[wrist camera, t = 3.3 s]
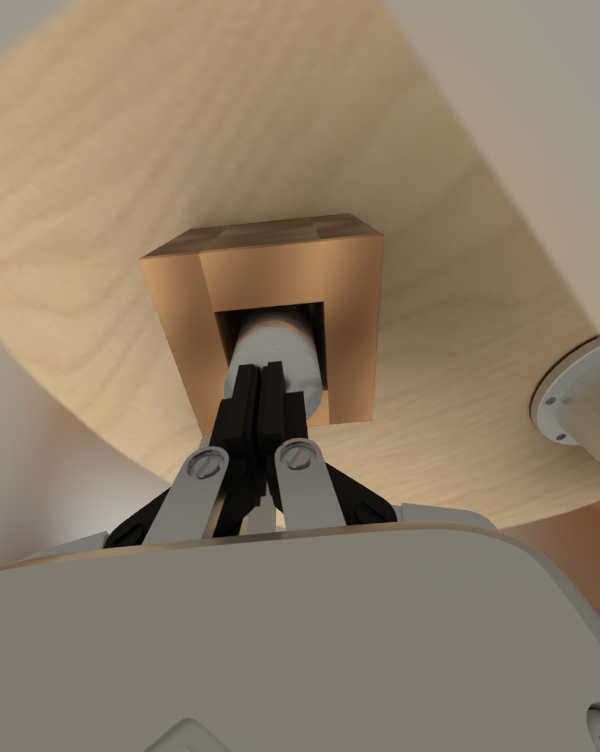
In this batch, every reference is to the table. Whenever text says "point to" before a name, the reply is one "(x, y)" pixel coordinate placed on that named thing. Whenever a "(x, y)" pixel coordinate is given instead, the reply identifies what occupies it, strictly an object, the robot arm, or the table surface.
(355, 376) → the hole block
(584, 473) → the table surface
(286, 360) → the peg
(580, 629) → the robot arm
